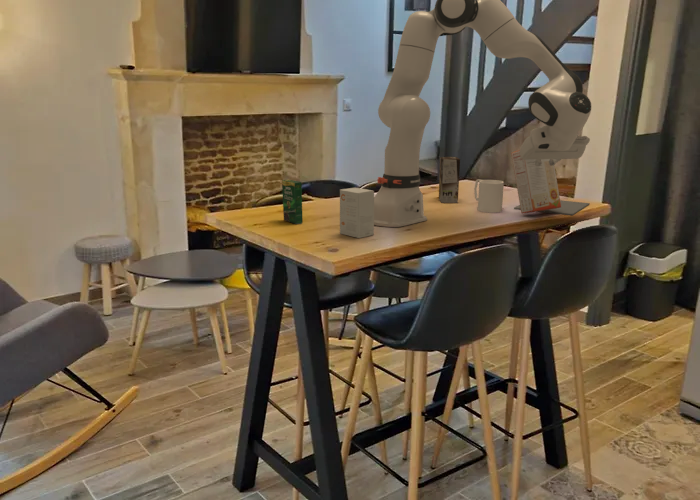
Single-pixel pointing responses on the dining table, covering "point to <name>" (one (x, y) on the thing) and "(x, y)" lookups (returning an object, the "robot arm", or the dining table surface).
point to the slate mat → (565, 208)
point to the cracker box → (535, 184)
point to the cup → (489, 195)
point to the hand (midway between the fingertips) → (544, 164)
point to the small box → (357, 212)
